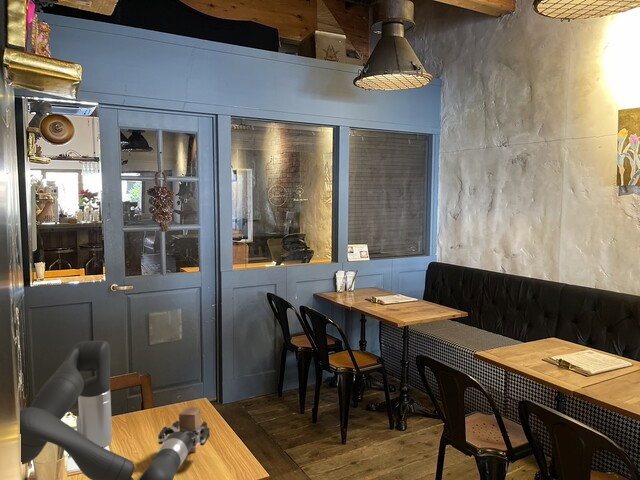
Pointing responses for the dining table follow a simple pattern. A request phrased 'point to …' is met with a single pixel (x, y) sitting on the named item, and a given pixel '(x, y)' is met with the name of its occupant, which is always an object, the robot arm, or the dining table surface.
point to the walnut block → (190, 422)
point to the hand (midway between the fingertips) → (191, 424)
